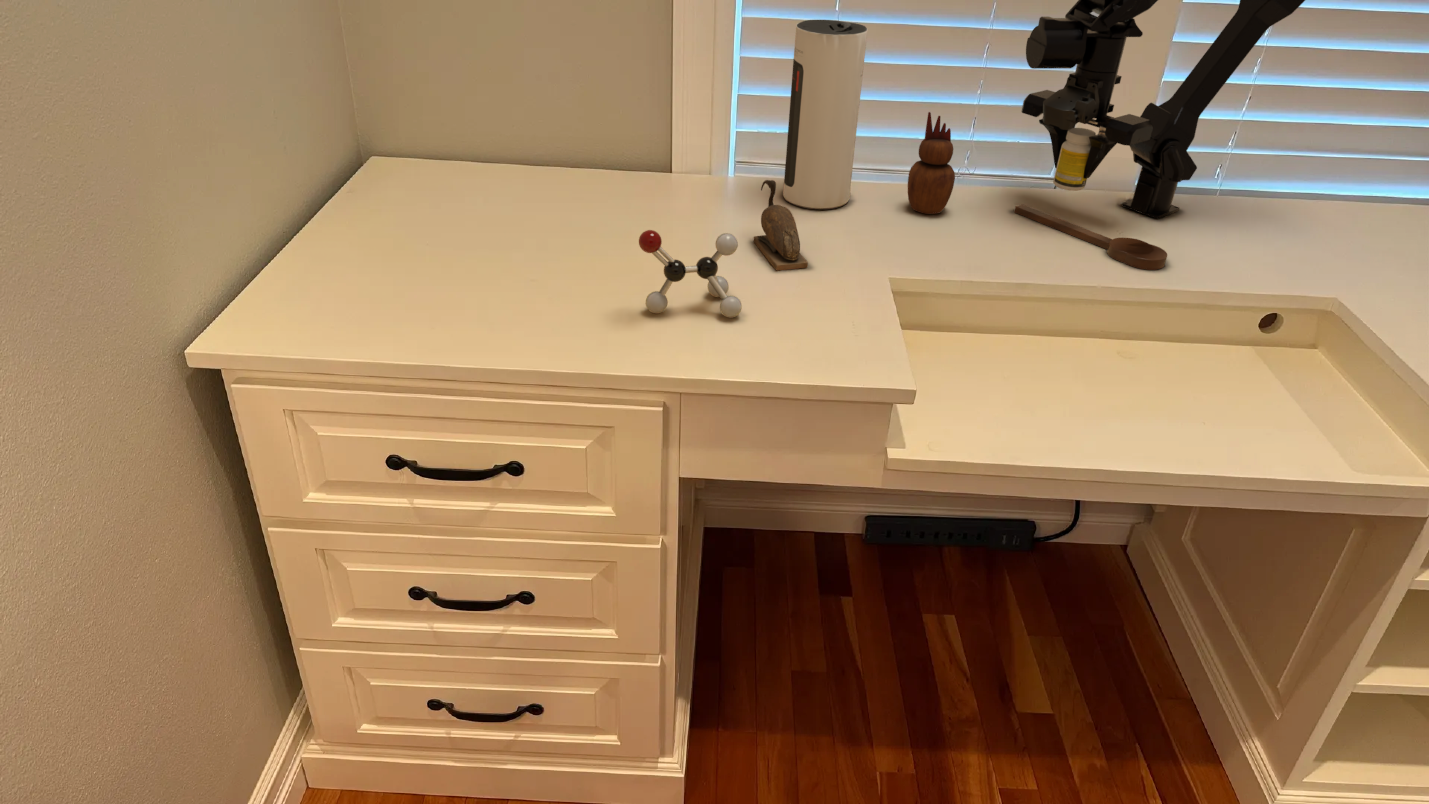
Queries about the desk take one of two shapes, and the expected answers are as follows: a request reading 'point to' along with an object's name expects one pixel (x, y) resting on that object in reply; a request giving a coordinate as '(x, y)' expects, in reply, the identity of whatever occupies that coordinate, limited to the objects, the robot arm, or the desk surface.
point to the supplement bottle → (1073, 160)
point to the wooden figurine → (932, 171)
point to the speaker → (823, 112)
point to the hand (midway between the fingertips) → (1071, 172)
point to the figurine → (779, 235)
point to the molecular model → (704, 269)
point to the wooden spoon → (1104, 241)
